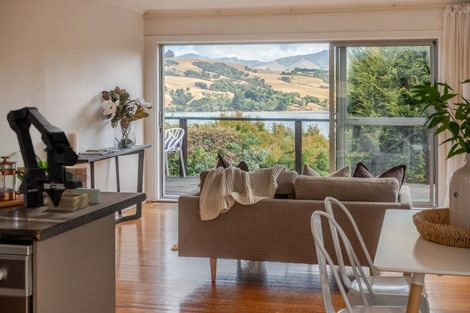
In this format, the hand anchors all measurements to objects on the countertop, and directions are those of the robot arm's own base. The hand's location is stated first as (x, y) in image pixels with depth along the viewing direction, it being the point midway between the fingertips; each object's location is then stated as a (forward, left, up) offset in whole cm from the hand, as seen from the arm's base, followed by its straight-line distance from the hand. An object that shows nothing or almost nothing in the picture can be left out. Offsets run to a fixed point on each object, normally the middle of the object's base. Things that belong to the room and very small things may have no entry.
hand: (56, 206), depth 207 cm
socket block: (+7, +4, -2) cm, 8 cm away
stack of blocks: (+24, +42, -3) cm, 49 cm away
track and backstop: (+10, +6, -2) cm, 12 cm away
